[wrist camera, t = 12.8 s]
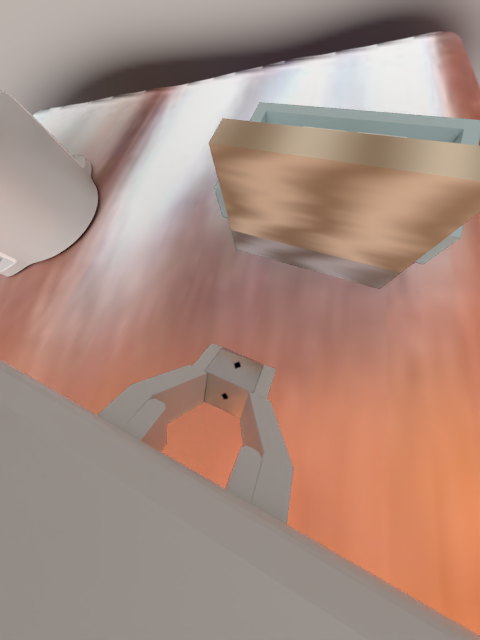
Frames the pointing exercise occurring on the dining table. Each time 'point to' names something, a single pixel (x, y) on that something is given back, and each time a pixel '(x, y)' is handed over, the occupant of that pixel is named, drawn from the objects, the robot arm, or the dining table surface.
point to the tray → (374, 124)
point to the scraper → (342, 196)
